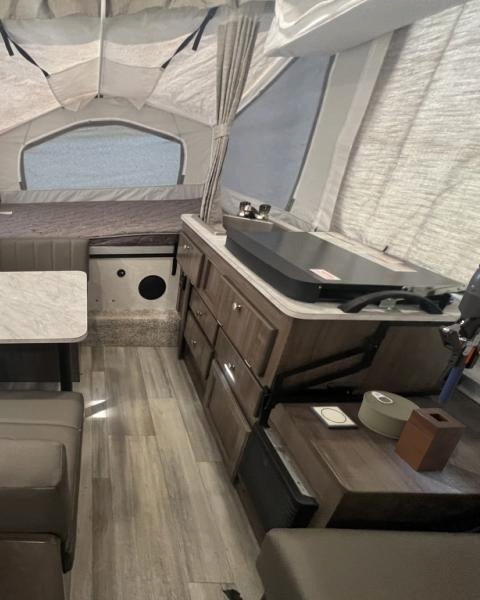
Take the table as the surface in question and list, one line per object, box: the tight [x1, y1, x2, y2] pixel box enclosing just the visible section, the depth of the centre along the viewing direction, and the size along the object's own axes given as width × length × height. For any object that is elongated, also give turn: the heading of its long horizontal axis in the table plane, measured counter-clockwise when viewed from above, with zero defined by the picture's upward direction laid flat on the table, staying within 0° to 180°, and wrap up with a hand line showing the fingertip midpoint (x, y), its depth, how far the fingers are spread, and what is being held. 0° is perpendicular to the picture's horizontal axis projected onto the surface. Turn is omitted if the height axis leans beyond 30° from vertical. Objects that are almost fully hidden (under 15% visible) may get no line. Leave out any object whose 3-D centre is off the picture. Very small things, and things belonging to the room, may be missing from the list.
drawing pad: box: [309, 405, 359, 429], centre depth 91 cm, size 8×8×1 cm
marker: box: [437, 344, 475, 406], centre depth 68 cm, size 2×2×15 cm
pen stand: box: [393, 407, 467, 473], centre depth 75 cm, size 6×6×14 cm
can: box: [357, 390, 421, 441], centre depth 87 cm, size 12×12×7 cm
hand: (459, 366), depth 67 cm, fingers closed on marker, 1 cm apart
